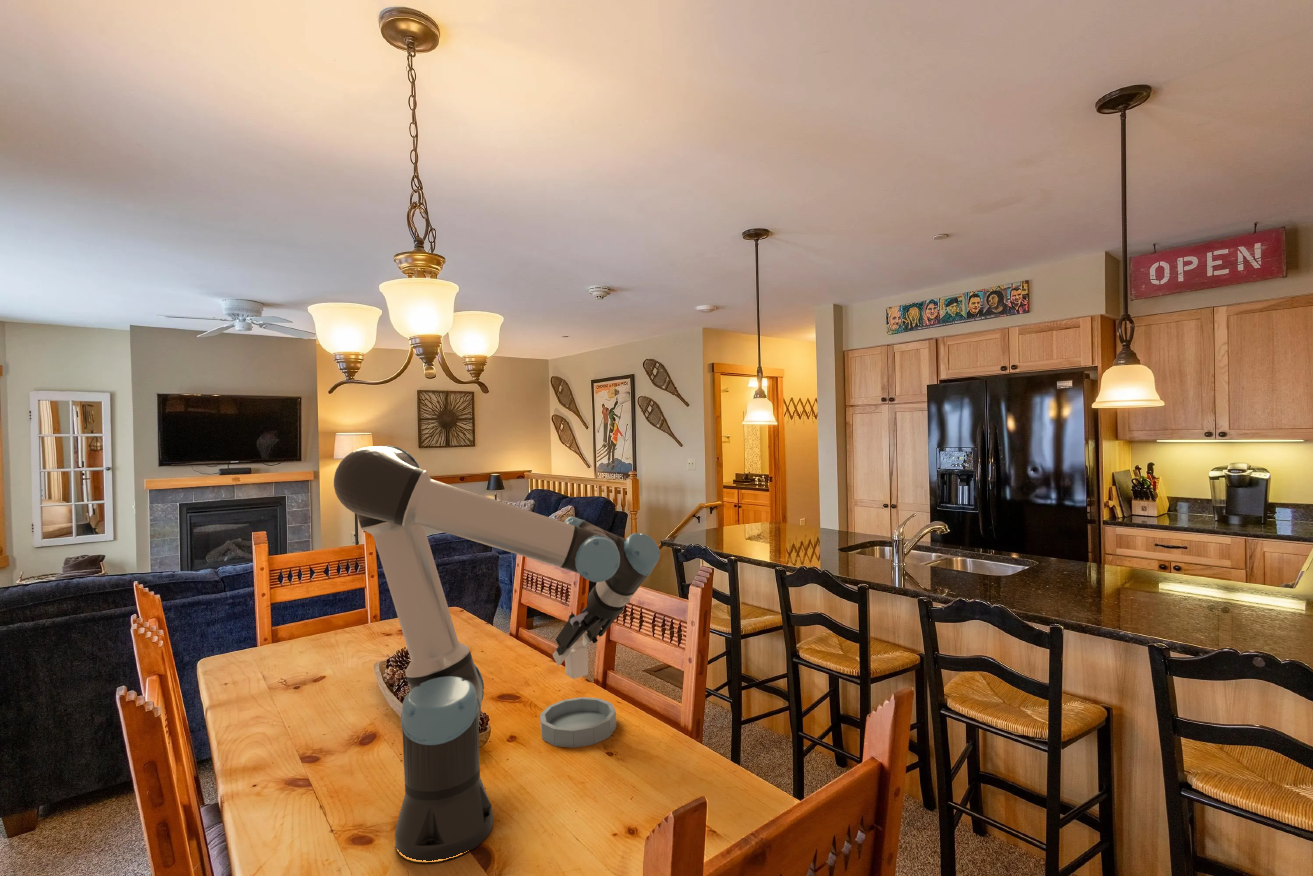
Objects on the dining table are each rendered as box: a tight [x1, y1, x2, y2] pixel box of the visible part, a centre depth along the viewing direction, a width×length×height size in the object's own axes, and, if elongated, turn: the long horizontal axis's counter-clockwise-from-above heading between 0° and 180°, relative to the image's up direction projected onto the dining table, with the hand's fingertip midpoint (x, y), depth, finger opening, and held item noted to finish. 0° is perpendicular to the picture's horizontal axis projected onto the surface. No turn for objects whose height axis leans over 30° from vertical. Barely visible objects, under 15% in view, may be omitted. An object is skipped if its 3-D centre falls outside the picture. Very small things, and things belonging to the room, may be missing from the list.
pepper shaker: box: [564, 634, 589, 679], centre depth 137 cm, size 4×4×10 cm
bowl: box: [539, 696, 617, 749], centre depth 137 cm, size 16×16×4 cm
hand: (565, 656), depth 140 cm, fingers closed on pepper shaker, 4 cm apart
